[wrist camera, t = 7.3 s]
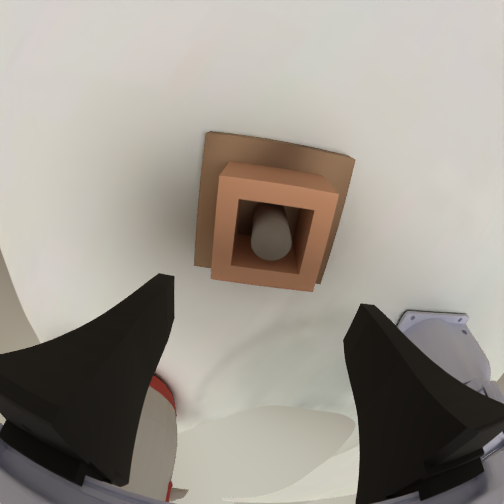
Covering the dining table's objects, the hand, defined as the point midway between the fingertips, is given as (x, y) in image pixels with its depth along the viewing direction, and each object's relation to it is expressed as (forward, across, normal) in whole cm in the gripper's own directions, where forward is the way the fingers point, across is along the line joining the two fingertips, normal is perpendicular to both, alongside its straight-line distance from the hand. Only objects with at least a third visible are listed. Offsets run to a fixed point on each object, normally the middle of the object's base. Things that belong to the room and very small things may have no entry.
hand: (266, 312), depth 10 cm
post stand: (+10, 0, -1) cm, 10 cm away
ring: (+8, 0, -1) cm, 8 cm away
